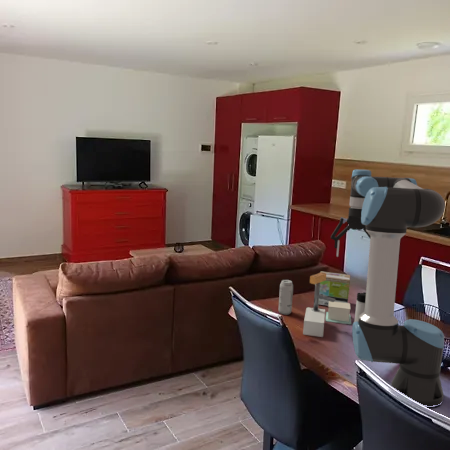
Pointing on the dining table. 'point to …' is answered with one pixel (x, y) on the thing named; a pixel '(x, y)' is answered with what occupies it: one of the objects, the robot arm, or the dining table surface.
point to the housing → (314, 322)
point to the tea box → (335, 288)
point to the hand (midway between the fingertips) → (354, 257)
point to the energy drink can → (285, 297)
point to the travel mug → (360, 305)
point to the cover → (339, 311)
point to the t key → (316, 280)
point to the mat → (338, 320)
